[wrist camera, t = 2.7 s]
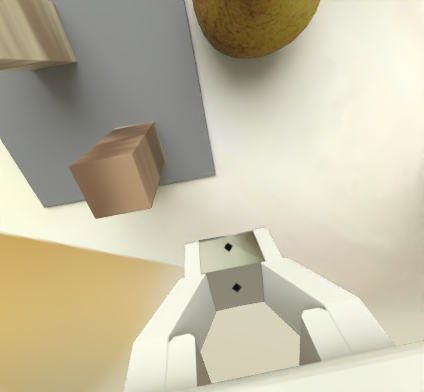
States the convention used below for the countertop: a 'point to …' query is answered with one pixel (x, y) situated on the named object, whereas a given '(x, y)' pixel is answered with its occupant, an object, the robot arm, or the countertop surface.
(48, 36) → the ash block
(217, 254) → the robot arm
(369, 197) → the countertop surface
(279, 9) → the fruit
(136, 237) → the countertop surface
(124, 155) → the walnut block
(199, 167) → the mat
